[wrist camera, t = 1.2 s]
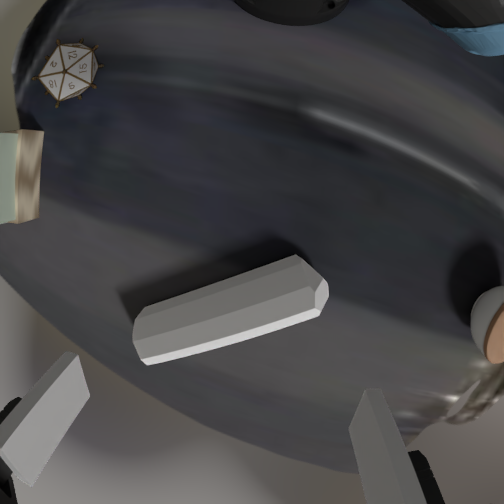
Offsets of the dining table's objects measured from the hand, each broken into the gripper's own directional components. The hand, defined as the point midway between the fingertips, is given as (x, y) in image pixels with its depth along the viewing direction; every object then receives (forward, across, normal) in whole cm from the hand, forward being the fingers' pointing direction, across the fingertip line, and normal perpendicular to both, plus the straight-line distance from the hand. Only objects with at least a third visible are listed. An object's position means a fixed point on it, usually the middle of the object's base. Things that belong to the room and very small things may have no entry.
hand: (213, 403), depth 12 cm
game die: (+23, -22, +21) cm, 39 cm away
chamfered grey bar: (+23, -2, -7) cm, 24 cm away
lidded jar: (+23, +37, -6) cm, 44 cm away
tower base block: (+23, -35, +9) cm, 43 cm away
